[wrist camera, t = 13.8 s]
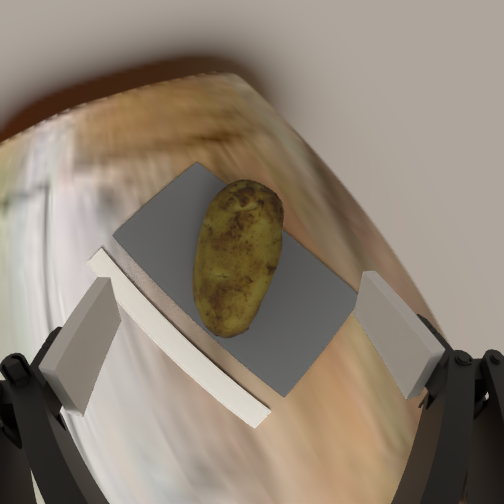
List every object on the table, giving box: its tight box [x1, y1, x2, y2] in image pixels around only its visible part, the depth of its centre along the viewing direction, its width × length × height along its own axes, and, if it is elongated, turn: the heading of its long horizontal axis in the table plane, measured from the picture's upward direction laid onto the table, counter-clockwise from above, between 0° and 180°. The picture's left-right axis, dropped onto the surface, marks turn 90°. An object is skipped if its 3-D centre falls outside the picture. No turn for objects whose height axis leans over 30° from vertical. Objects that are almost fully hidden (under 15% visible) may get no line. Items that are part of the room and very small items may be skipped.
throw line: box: [87, 248, 271, 429], centre depth 25 cm, size 24×2×1 cm, turn 49°
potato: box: [192, 180, 284, 338], centre depth 24 cm, size 8×13×8 cm, turn 151°
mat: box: [112, 162, 358, 397], centre depth 28 cm, size 24×13×1 cm, turn 49°
